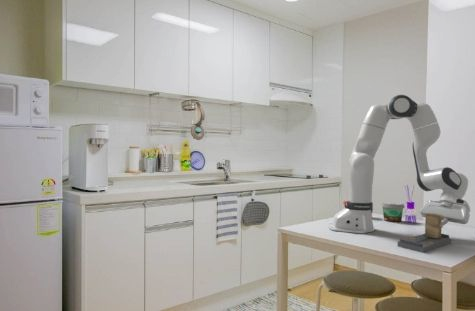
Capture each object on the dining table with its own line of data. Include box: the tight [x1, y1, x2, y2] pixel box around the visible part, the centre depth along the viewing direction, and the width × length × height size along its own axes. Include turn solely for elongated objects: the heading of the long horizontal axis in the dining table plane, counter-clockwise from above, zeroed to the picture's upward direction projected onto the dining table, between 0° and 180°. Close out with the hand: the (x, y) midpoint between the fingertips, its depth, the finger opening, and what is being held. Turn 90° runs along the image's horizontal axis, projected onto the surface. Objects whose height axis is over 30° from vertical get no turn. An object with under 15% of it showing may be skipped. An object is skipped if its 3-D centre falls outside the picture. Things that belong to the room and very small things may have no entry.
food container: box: [381, 202, 405, 223], centre depth 207 cm, size 12×6×10 cm, turn 87°
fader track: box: [397, 233, 452, 253], centre depth 163 cm, size 25×11×3 cm, turn 127°
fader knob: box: [424, 213, 443, 239], centre depth 167 cm, size 4×5×10 cm
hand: (438, 226), depth 170 cm, fingers closed
